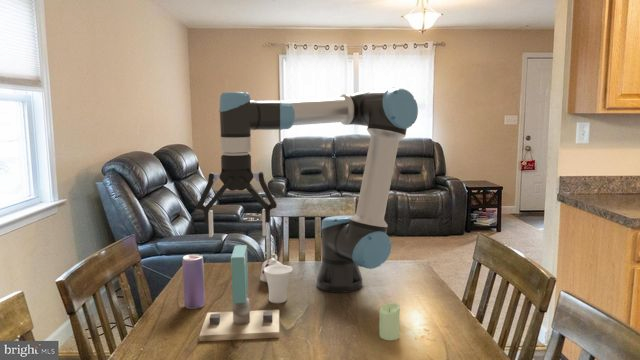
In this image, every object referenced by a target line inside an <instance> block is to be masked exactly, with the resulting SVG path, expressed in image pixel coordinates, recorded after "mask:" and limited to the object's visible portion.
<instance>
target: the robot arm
mask: <svg viewBox="0 0 640 360" xmlns="http://www.w3.org/2000/svg"><path fill="white" fill-rule="evenodd" d="M218 112H219V128H220V152H221V153H222V155H221V156H220V168H221V171H220V173H215V172H213V171H212V172H210V173H209V174H208V178H207V179H208V180H207V184H206V186H205V188H204V190H203V192H202V194H201V196H200V199H199V201H198V202H197V204H196V209H197V210H201V211H202V212H203V218H204V221H203V222H204V225H208V238H213V236H214V210H213V209H212V207H213V206H214V205H215V204H216V202H217V201H218V200H219V198H221V196H222V195H223V194H224V192H225V191H226V190H227V189H228V190H229V191H230V192H231V191H232V192H233V191H244V190H247V192H248V193H249V194H250V195H251V196H252V197H253V198H254V199H255V200H256V202H258V203H259V205H261V207H263V209H262V211H261V216H262V217H261V219H262V221H261V222H262V224H261V225H262V226H261V227H262V237H266V235H267V229H266V227H267V225H266V223H267V224H268V223H270V221H271V210H272V209H277V202H276V200H275V198H274V196H273V194H272V192H271V190H270V188H269V186H268V185H267V183H266V181H265V175H264V172H263V171H259V172H256V173H255V172H254V173H253V172H252V156H251V154H250V153H251V152H252V145H251V139H252V138H251V135H252V134H251V133H252V132H251V131H257V130H258V131H259V130H260V131H262V130H265V131H269V130H270V131H272V130H273V131H274V130H279V131H281V130H289V129H291V128H292V127H293V126H302V125H303V126H304V125H317V124H331V123H341V124H342V125H345V126H349V125H352V126H353V125H357V126H365V127H367V128H366V130H367V132H368V134H369V135H370V140H369V144H368V150H367V155H366V160H365V164H364V170H363V176H362V180H361V185H360V190H359V191H360V192H359V195H358V196H359V197H358V200H357V202H358V203H357V205H356V211H355V214H353V215H347V214H345V215H333V216H328V217H327V216H326V217H325V218H323V219H322V221H321V228H320V231H321V262H320V263H321V264H320V267H319V269H318V272H317V276H316V286H317V288H318V289H321V290H322V291H326V292H331V293H350V292H355V291H357V290H359V289H361V288H362V287H363V276H362V274H361V270H360V267H361V268H365V269H370V270H372V269H377V268H379V267H380V266H382V264H384V263H386V261H387V260H388V259H389V256H390V254H391V252H392V240H391V239H390V237H389V235H388V234H387V231H388V224H387V222H386V221H385V215H386V210H387V205H388V204H387V203H388V199H389V194H390V189H391V183H392V178H393V175H394V169H395V163H396V159H397V158H396V157H397V153H398V148H399V143H400V141H402V140H403V139H404V138H405V137H406V134H407V131H408V130H407V129H409V128H410V127H412V126H413V124H415V123H416V121H417V119H418V114H419V107H418V103H417V100H416V99H415V96H414V95H413V94H412V93H411V92H410V91H408V90H407V89H404V88H398V87H397V88H396V87H390V88H383V89H382V88H381V89H380V88H379V89H369V90H365V91H359V92H354V93H345V94H341V95H340V96H339V97H331V98H329V97H327V98H309V99H308V98H307V99H306V98H305V99H303V98H302V99H286V100H285V99H284V100H280V99H279V100H252V99H251V95H250V93H249V92H246V91H243V92H242V91H225V92H222V93H221V94H220V96H219V110H218ZM253 179H255V180H256V182H259V184H260V186H261V188H262V190H263V192H264V195H265V196H266V198H267V200H268V202H269V203H268V202H267V201H266V200H265V199H264V198H263V196H262V195H261V194H260V193H259V192H258V191H257V190H256V189H255V187H254V186H253V185H252V184H251V182H252V181H253ZM218 180H220V181H221V182H222V184H223V185H222V186H221V188H220V189H219V190H217V192H216V193H215V194H214V196H213V197H212V198H211V199H210V201H209V202H208V203H207V204H205V202H206V199H207V198H208V195H209V194H210V192H211V190H212V187H213V185H214V183H215V182H217V181H218ZM211 209H212V210H211Z"/></svg>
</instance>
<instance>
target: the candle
mask: <svg viewBox="0 0 640 360" xmlns="http://www.w3.org/2000/svg"><path fill="white" fill-rule="evenodd" d="M400 311H401V309H400V305H399V304H398V303H396V302H389V303H386V304H383V305H382V306H381V307H380V308H379V323H378V324H379V326H378V327H379V333H378V335H379V337H380V339H383V340H385V341H396V340H398V339H399V338H400V313H401V312H400Z"/></svg>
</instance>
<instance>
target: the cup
mask: <svg viewBox="0 0 640 360" xmlns="http://www.w3.org/2000/svg"><path fill="white" fill-rule="evenodd" d="M293 271H294V269H293V267H292V266H289V265H286V264H283V265H271V266H268V267H266V268H264V273H265V275H266V278H267V282H266V284H267V288H268V301H269V302H270V303H272V304H282V303H286V301H287V299H288V295H287V294H288V285H289V283H290V279H291V276H292V273H293Z"/></svg>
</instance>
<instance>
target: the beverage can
mask: <svg viewBox="0 0 640 360" xmlns="http://www.w3.org/2000/svg"><path fill="white" fill-rule="evenodd" d="M204 268H205V266H204V258H203V255H202V254H197V253H194V254H193V253H192V254H186V255H184V256H183V257H182V281H183V282H182V283H183V301H184V307H185V308H186V309H189V310H198V309H201V308H202V307H204V305H205V303H206V297H205V296H206V295H205V292H206V290H205V271H204Z"/></svg>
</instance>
